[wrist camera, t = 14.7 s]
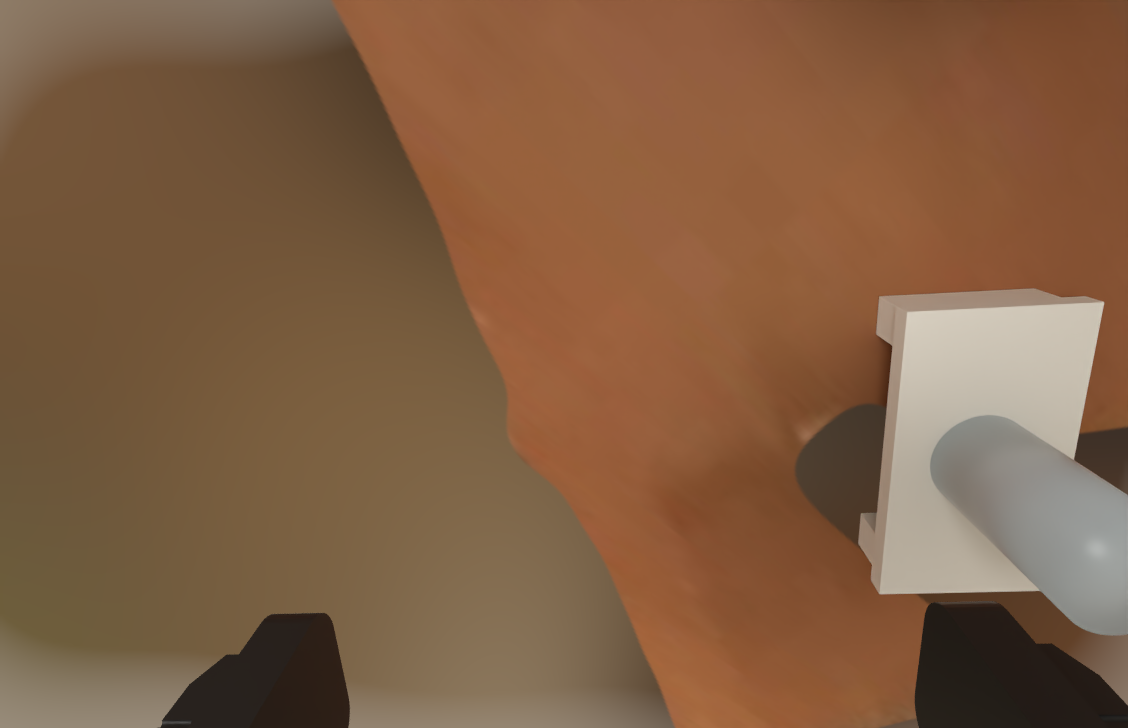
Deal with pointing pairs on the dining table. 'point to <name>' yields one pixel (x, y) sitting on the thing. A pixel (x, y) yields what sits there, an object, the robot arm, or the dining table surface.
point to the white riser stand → (954, 394)
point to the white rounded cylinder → (1041, 516)
